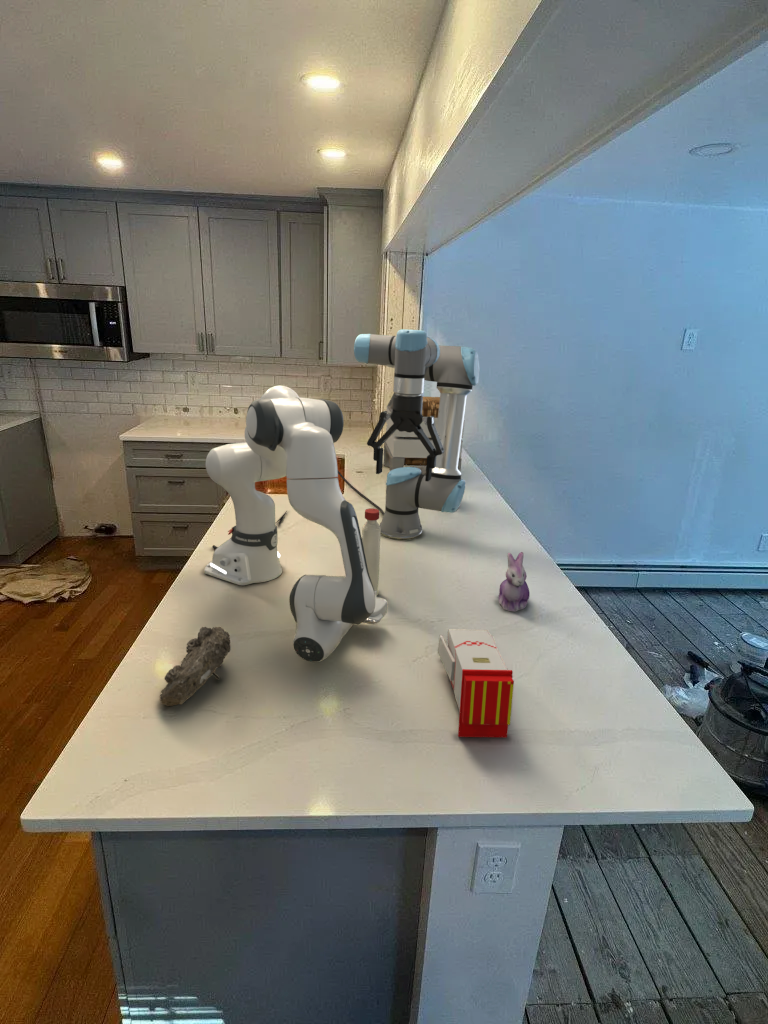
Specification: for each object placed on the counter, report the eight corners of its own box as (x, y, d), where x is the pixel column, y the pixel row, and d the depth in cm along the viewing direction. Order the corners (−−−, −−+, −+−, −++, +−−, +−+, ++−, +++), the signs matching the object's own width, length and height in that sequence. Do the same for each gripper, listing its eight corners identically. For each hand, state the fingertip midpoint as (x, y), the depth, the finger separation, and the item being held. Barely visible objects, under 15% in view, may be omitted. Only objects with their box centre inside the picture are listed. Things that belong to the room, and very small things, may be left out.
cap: (363, 515, 151) (363, 508, 151) (377, 515, 152) (378, 508, 151) (365, 520, 148) (366, 513, 147) (380, 520, 148) (380, 512, 148)
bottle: (358, 589, 159) (361, 509, 151) (376, 588, 160) (379, 508, 152) (361, 598, 155) (364, 515, 146) (379, 597, 156) (383, 515, 147)
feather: (294, 505, 227) (296, 501, 226) (277, 528, 200) (280, 524, 199) (290, 503, 226) (292, 499, 226) (273, 526, 200) (276, 521, 199)
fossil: (184, 629, 128) (231, 598, 123) (214, 657, 131) (261, 628, 126) (138, 700, 109) (191, 667, 104) (173, 731, 112) (227, 701, 107)
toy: (488, 613, 130) (523, 677, 101) (484, 667, 133) (517, 744, 104) (435, 612, 130) (455, 676, 101) (432, 666, 133) (451, 743, 103)
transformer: (382, 463, 289) (386, 382, 275) (445, 464, 293) (451, 384, 279) (390, 482, 257) (394, 392, 243) (460, 483, 261) (468, 394, 247)
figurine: (511, 616, 149) (518, 564, 143) (487, 598, 157) (493, 549, 152) (539, 609, 153) (547, 558, 148) (514, 592, 161) (521, 544, 156)
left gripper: (378, 612, 130) (395, 586, 142) (297, 595, 136) (320, 571, 148) (377, 635, 132) (394, 608, 145) (297, 618, 138) (320, 593, 150)
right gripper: (460, 397, 141) (453, 479, 148) (367, 388, 149) (364, 466, 156) (453, 401, 134) (445, 486, 141) (356, 391, 142) (353, 473, 149)
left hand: (356, 589), depth 146 cm, fingers open, 8 cm apart
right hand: (403, 476), depth 148 cm, fingers open, 13 cm apart
